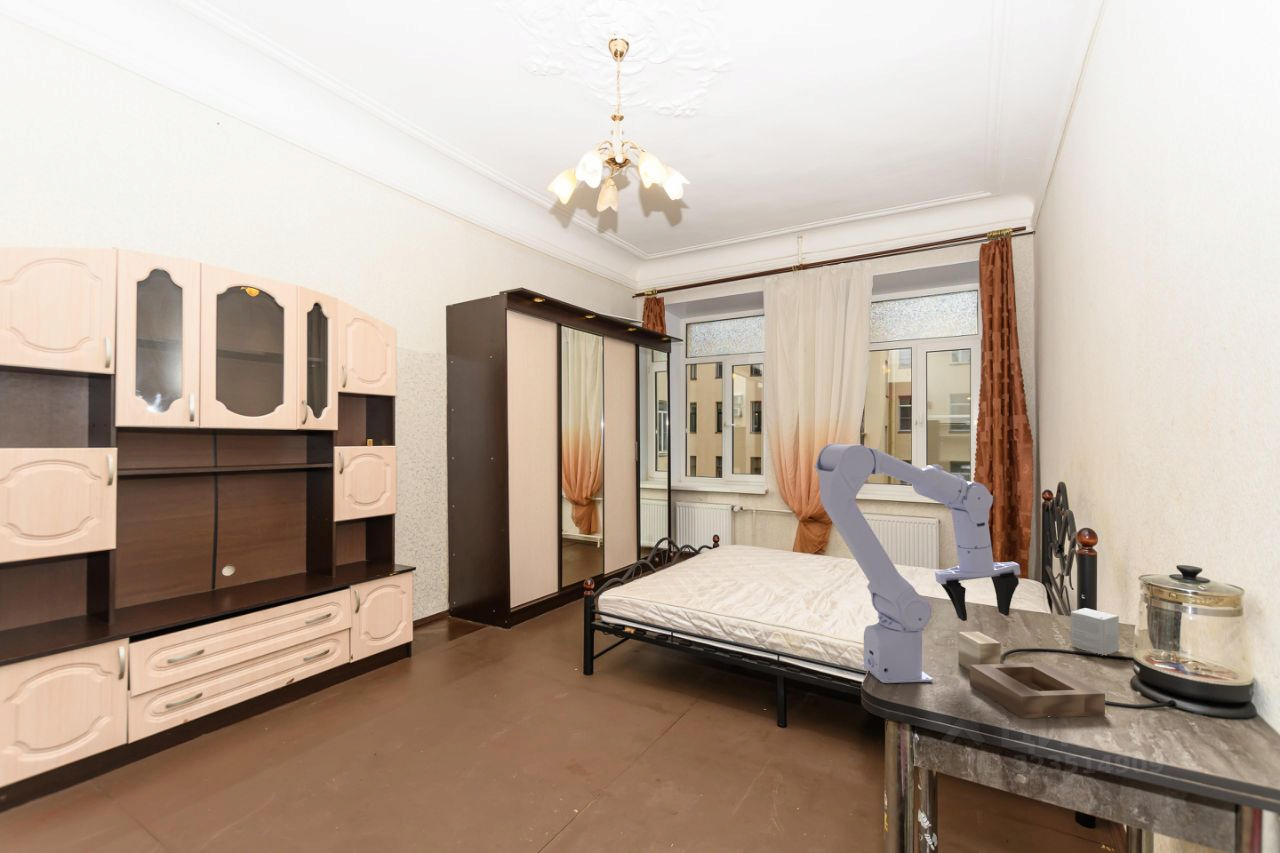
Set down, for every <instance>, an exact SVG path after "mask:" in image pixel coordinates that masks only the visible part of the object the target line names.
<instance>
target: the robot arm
mask: <svg viewBox="0 0 1280 853" xmlns="http://www.w3.org/2000/svg"><path fill="white" fill-rule="evenodd" d="M814 469H815V471H816V473H817V475H818V485H819V486H818V487H819V499H820V503H821V505H822V507H823V509H824V511H825V512H826V514H827V516H828V517H829V519H830V520H831V522H832V524H833V525H834V527H835V529H836V530H837V532H838V533H839V535H840V536H841V538H842V539H843V541H844V543H845V545H846V546H847V547H848V549H849V550H850V552H851V554H852V555H853V557H854V559H855V561H856V563H857V564H858V566H859V567H860V569H861V570H862V572H863V574H864V575H865V577H866V578H867V580H868V583H867V586H866V588H867V590H868V591H869V593H870V597H871V604H872V606H873V609H874V610H875V611H876V612H877V619H878V622H876V623H875V624H871V625H867V626H866V627H865V629H864V631H863V662H862V663H861V666H862V667H863V668H865V670H866V671H868V672H869V669H870V666H871V669H870V672H869V673H870V674H871V675H872V676H874V678H876V679H877V680H879V682H881V683H882V684H891V683H892V684H896V683H924V682H925V683H927V682H933V681H934V679H933V677H932V676H930V675H928V674H927V673H926V672H924V671H923V632H924V631H925V627H926V626H927V625H928V624H929V622H930V621H931V617H932V607H931V604H930V602H929V601H928V599H927V598H926V597H925V596H923V595H921V594H919V593H918V592H917V591H916V589H915V587H914V586H913V585H912V583H910V582H909V581H908V580H907V579H905V578H904V576H902V575H901V573H899V571H898V570H897V568H896V566H895V565H894V563H893V562H892V560H891V558H890V556H889V555H888V553H887V552H886V550H885V549H884V547H883V545H882V544H881V542H880V540H879V539H878V537H877V535H876V534H875V533H874V531H873V529H872V528H871V525H870V524H869V522H868V521H867V519H866V517H865V516H864V514H863V513H862V511H861V509H860V508H859V506H858V504H857V503H856V500H857V495H858V494H859V493H860V491H861V489H862V488H863V487H864V485H865V483H866V482H867V481H868V480H869V478H870V476H871V475H878V474H882V475H885V476H888V477H891V478H894V479H897V480H899V481H902V482H904V483H907V484H911V485H912V488H913V491H914V492H915V493H916V494H918V495H920V496H923V497H925V498H928V499H929V500H933V501H935V502H938V503H940V504H943V505H944V506H945V507H946V508H947V509H948V510H950V509H951V510H950V511H951V517H952V523H953V524H952V526H953V533H954V539H955V540H954V542H955V546H956V554H957V562H958V563H957V564H958V565H957V566H954V567H950V568H946V569H943V570H942V569H941V570H937V571H934V575H935V581H936V582H937V583H938V584H939V585H940V586H941V587H942V589H943V590H944V591H945V593H946V595H947V596H948V597H949V599H950V602H951V603H952V605H953V608H954V609H955V612H956V616H957V618H958V619H959V620H960V621H963V622H965V621H968V613H967V609H966V591H967V589H966V587H965V586H963V585H962V583H961V582H960V581H970V580H977V579H983V578H991V581H992V585H993V588H994V592H995V597H996V606H997V609H998V613H1000V614H1002V615H1003V616H1005V617H1006V616H1009V615H1010V608H1011V603H1012V598H1013V596H1014V594H1015V591H1016V589H1017V588H1018V586H1019V584H1020V582H1019V581H1020V580H1019V578H1018V577H1017V576H1019V575H1021V568H1020V564H1019V563H1017V562H1014V561H1007V562H1006V561H1005V562H1003V561H1002V562H994V556H993V549H992V540H991V533H990V528H989V525H990V524H989V519H990V510H991V508H992V505H993V503H994V502H993V501H994V495H992V494H991V493H990V491H989V490H988V488H987V487H986V486H985V485H984V484H983V483H981V482H975V481H967V480H966V479H965V476H964V475H962V474H959V473H958V474H952V473H950V472H948V471H945V470H944V466H942V465H940V464H934V463H933V464H932V465H931V464H930V465H928V464H927V465H924V466H921V467H917V466H915V465H913V464H910V463H908V462H906V461H905V460H902V459H901V458H897V457H895V456H893V455H891V454H888V453H886V452H884V451H882V450H879V449H877V448H872V447H868V446H865V445H864V444H859V443H858V444H840V443H836V442H835V443H834V442H833V443H829V444H826V445H825V446H823V447H822V449H821V450H820V452H819V453H818V456H817V459H816V462H815V465H814Z"/></svg>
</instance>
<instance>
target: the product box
mask: <svg viewBox="0 0 1280 853" xmlns="http://www.w3.org/2000/svg"><path fill="white" fill-rule="evenodd" d="M1119 618H1120V617H1119V615H1116V614H1112V613H1108V612H1104V611H1103V612H1102V611H1099V610H1095V609H1091V608H1087V607H1084V608H1079V609H1076V610H1073V611H1070V647H1071V646H1072V648H1075V647H1076V649H1079V650H1083V651H1085V652H1089V651H1090V652H1089V653H1093V652H1094V653H1093V654H1096V653H1098V654H1097V655H1099V654H1102V655H1101V656H1103V655H1105V656H1108V655H1107V654H1109V655H1112V654H1114V653H1118V652H1119V651H1120V641H1119V640H1120V631H1119V630H1120V627H1119V624H1120V623H1119V620H1120V619H1119Z"/></svg>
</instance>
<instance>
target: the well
mask: <svg viewBox="0 0 1280 853" xmlns="http://www.w3.org/2000/svg"><path fill="white" fill-rule="evenodd" d="M969 685H970V686H971V687H973V688H975V689H977V690H978V691H979V690H980V692H981V693H982V692H983V694H984V695H985V694H986V696H987V695H988V696H989V699H991V698H992V699H991V700H993V701H994V700H995V701H994V702H996V703H998V704H999V705H1001V707H1003V708H1005V709H1006V710H1008V711H1009V712H1011V713H1012V714H1014V715H1015V716H1016V717H1018V716H1019V718H1020V719H1041V717H1047V718H1049V717H1048V716H1057V717H1056V718H1067V717H1074V718H1075V717H1091V716H1092V717H1093V716H1095V717H1096V716H1106V693H1105V692H1103V691H1101V690H1099V689H1097V688H1095V687H1093V686H1091V685H1089V684H1087V683H1085V682H1084V681H1081V680H1079V679H1077V678H1076V677H1073V676H1072V675H1069V674H1067V673H1065V672H1063V671H1061V670H1059V669H1058V668H1056V667H1054V666H1052V665H1049V664H1048V663H1046V662H1023V663H1022V662H1019V663H1000V664H980V665H970V670H969ZM988 696H987V697H988Z"/></svg>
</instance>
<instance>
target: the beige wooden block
mask: <svg viewBox="0 0 1280 853" xmlns="http://www.w3.org/2000/svg"><path fill="white" fill-rule="evenodd" d="M957 645H958V647H957V648H958V649H957V650H958V652H957V653H958V660H957V661H958V664H959V665H961V666H962V667H963V668H966V669H967V670H969V671H970V665H980V664H1001V655H1002V654H1001V642H999V641H997V640H995V639H993V638H992V637H990V636H987V635H986V634H984V633H982V632H980V631H958V644H957Z"/></svg>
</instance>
